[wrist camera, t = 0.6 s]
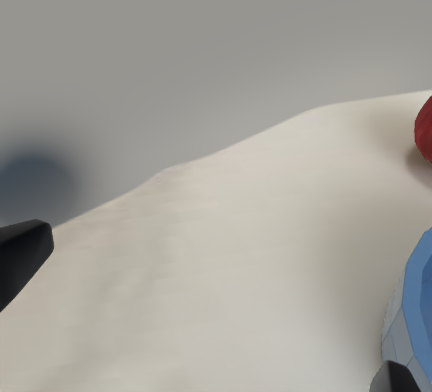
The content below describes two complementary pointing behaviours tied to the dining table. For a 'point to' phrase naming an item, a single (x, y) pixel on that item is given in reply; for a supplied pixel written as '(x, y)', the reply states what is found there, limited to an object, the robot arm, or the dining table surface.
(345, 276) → the dining table surface
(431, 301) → the pot
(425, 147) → the onion
